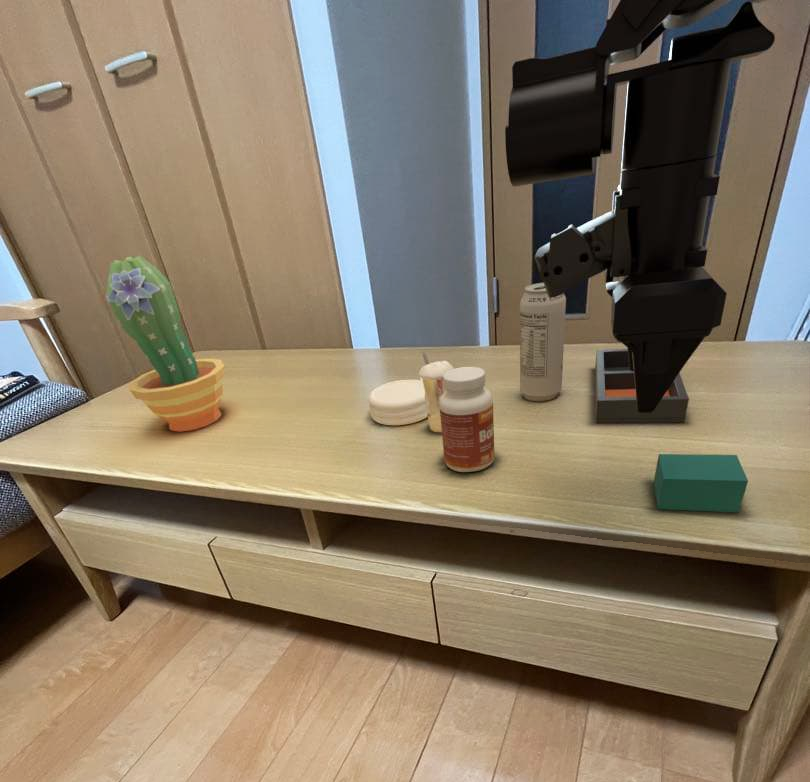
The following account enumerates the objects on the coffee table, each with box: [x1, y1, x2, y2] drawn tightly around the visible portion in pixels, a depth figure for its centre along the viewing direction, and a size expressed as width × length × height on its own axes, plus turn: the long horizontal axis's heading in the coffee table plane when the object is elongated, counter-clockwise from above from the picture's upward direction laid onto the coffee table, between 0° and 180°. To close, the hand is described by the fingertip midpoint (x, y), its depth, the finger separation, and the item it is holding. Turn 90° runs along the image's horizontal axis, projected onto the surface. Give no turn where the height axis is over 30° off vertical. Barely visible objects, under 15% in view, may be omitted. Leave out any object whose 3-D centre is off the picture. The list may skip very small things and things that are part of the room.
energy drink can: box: [519, 282, 567, 402], centre depth 73 cm, size 6×6×15 cm
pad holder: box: [594, 348, 690, 424], centre depth 73 cm, size 20×10×3 cm, turn 164°
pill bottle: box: [439, 366, 495, 473], centre depth 61 cm, size 6×6×11 cm
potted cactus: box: [105, 254, 226, 432], centre depth 81 cm, size 15×15×25 cm
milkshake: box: [418, 351, 455, 434], centre depth 70 cm, size 5×5×10 cm
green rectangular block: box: [653, 453, 749, 513], centre depth 51 cm, size 7×5×4 cm
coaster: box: [367, 379, 428, 426], centre depth 78 cm, size 10×10×4 cm
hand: (640, 389), depth 43 cm, fingers open, 9 cm apart
